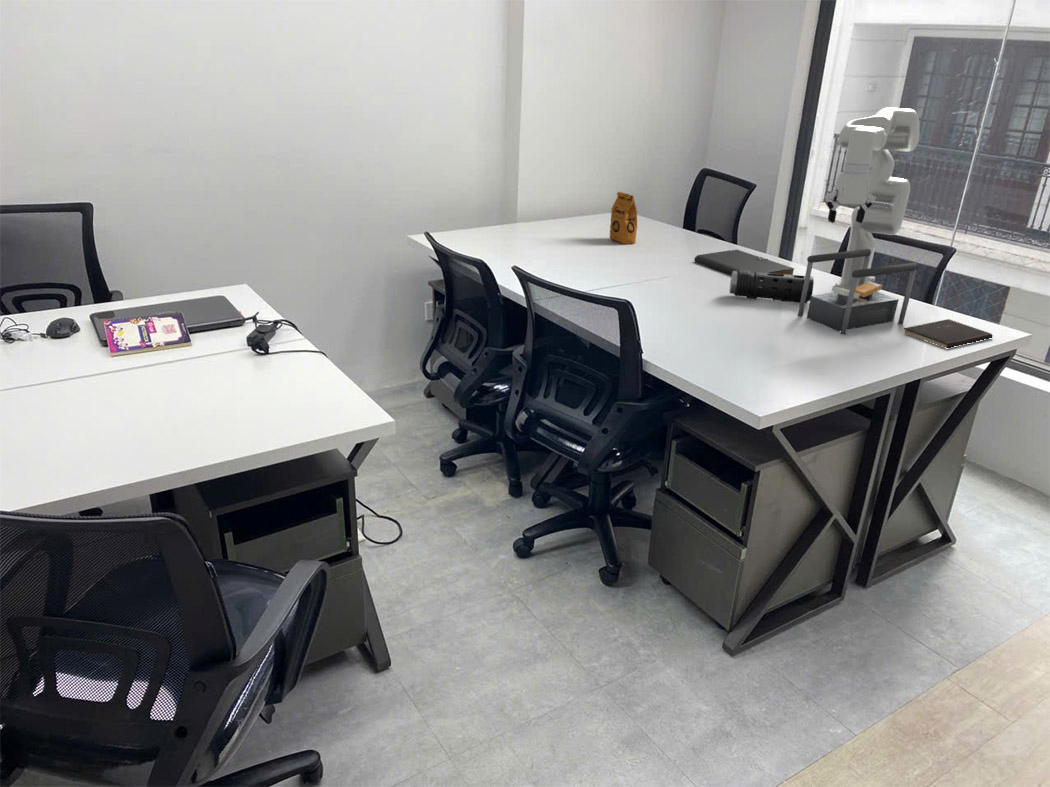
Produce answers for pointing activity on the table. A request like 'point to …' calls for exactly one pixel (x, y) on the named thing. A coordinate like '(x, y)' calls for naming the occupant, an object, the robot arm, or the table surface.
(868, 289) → the paddle
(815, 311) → the box
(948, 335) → the hardcover book
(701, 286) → the table surface
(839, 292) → the set paddle
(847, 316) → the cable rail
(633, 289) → the table surface
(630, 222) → the coffee package
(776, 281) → the muzzle brake
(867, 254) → the rail
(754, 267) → the file folder
